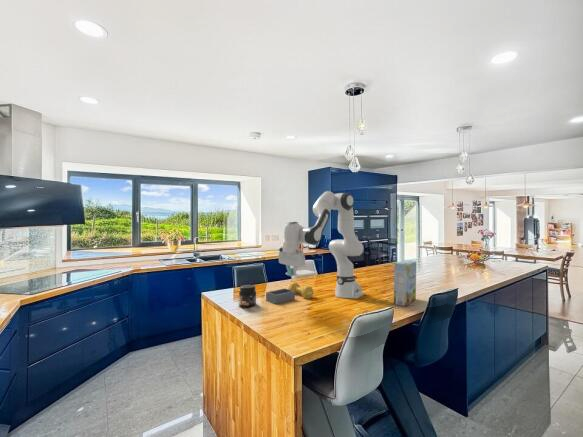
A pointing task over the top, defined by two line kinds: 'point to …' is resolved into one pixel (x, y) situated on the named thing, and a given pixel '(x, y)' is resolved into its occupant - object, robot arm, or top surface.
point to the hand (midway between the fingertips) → (291, 273)
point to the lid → (299, 272)
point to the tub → (280, 296)
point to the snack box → (405, 282)
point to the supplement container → (247, 296)
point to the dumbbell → (302, 290)
